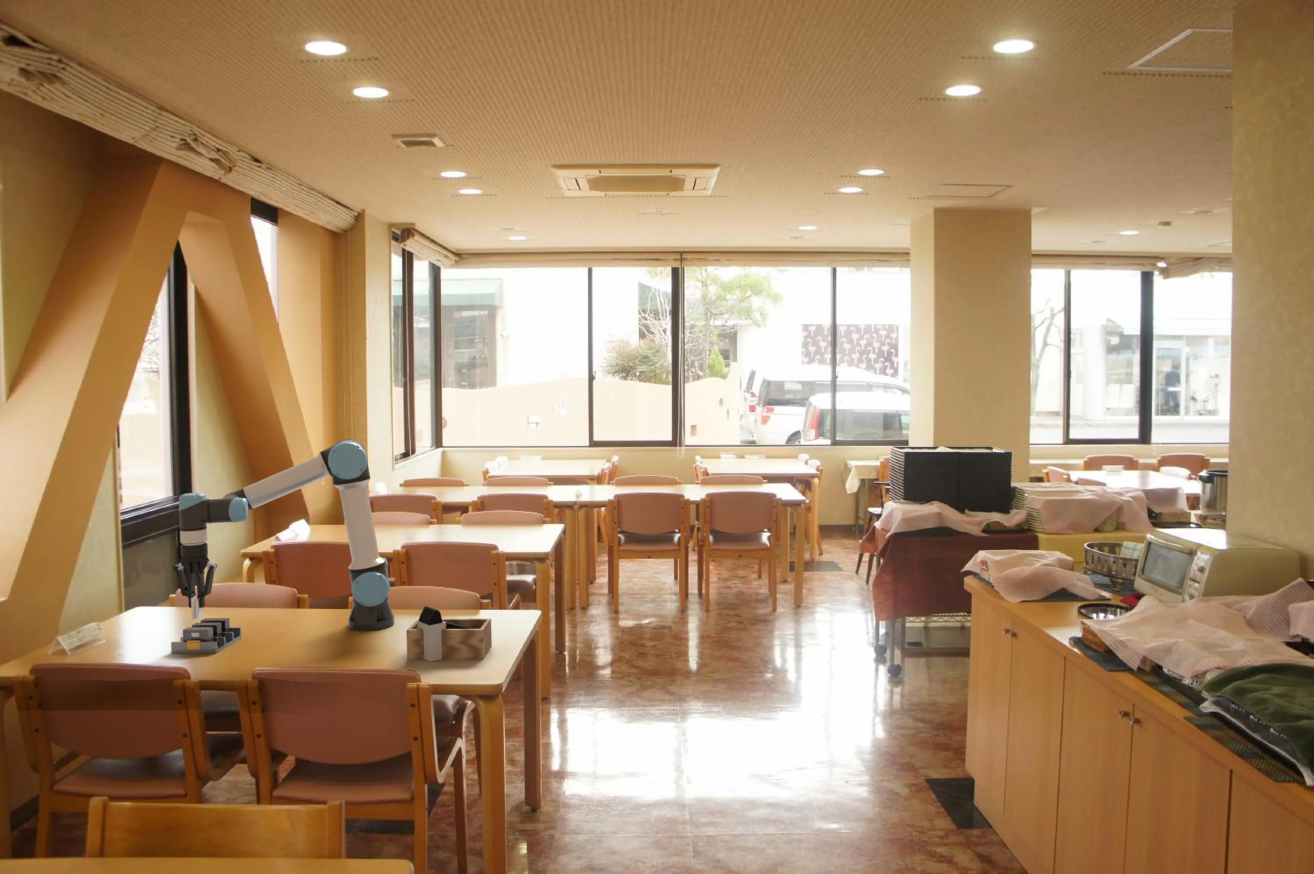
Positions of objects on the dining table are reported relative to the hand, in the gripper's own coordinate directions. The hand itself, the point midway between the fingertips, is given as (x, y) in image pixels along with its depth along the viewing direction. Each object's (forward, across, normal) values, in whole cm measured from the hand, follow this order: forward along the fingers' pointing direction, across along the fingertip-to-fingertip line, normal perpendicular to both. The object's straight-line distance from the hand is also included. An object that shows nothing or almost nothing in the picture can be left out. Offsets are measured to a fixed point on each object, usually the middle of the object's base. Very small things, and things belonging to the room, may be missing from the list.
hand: (197, 617), depth 298 cm
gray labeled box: (+9, 0, 0) cm, 9 cm away
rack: (+10, 0, -6) cm, 12 cm away
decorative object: (+11, -80, +4) cm, 81 cm away
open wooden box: (+10, -80, +4) cm, 81 cm away
